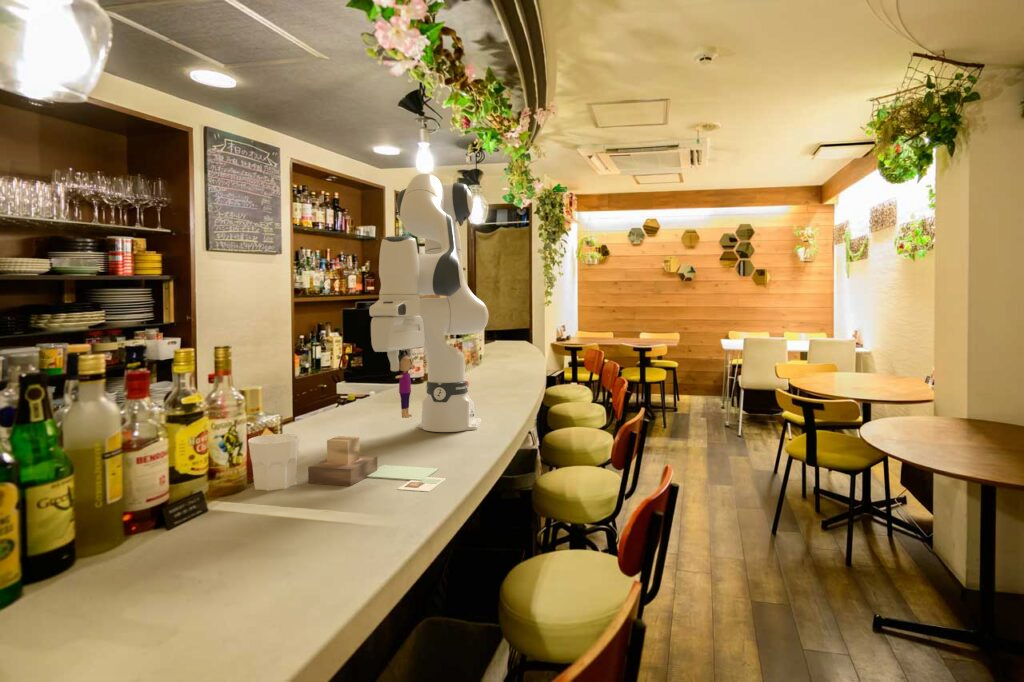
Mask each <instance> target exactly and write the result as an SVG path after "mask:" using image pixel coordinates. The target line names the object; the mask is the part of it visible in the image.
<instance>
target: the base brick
mask: <svg viewBox="0 0 1024 682" xmlns="http://www.w3.org/2000/svg"><path fill="white" fill-rule="evenodd" d="M359 458H360V459H359V460H357V461H354V462H352V463H350V464H333V463H327V458H325V459H323V460H321V461H319V462H317V463H313V464H311V465H309V466H308V467H307V470H308V471H307V474H308V481H307V482H308V484H317V485H332V486H345V487H347V486H348V487H352V486H353V485H356V484H358V483H359V482H361V481H363V480H365V479H366V478H368V477H367V476H368V475H370V474H372V473H374V472H375V471H377V468H378V456H376V455H375V456H374V455H359Z"/></svg>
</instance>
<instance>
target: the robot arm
mask: <svg viewBox="0 0 1024 682" xmlns="http://www.w3.org/2000/svg"><path fill="white" fill-rule="evenodd" d="M473 197H474V196H473V194H472V191H470V187H469V186H468V185H467V184H465V183H463V182H453V183H448V182H447V183H442V182H441V181H440V179H439V178H437V177H436V176H434V175H433V174H431V173H419V174H417V175H416V176H414V177H413V178H412V179H411V181H410V182H409V183H408V185H407V187H406V188H403V189H401V191H400V192H398V194H397V197H396V210H397V213H398V214H397V215H398V216H399V219H400V222H401V225H402V226H403V227H404V229H405V230H406V231H407V232H408V233H410V234H411V235H413V236H414V237H413V236H411V235H394V236H393V235H390V236H385V237H384V238H383V239H381V243H380V249H379V258H378V259H379V260H378V261H379V263H378V264H379V265H378V276H379V282H380V289H379V296H378V297H379V298H378V300H377V301H376V302H375V303H373V304H372V305H370V306H369V308H368V309H369V316H370V317H372V318H371V321H370V338H371V339H370V340H371V347H372V349H373V351H374V352H375V353H377V352H378V353H380V352H381V353H383V352H384V353H385V352H386V353H387V357H388V360H389V364H390V371H391V372H400V371H401V363H399V359H398V355H399V352H400V351H401V352H402V351H405V350H406V351H407V353H408V355H406V353H405V352H404V354H405V355H406V356H408V357H410V358H411V359H412V356H413V349H420V348H423V349H424V353H425V357H426V365H427V381H426V385H425V388H426V394H427V395H426V397H425V398H423V400H422V402H421V403H422V404H421V405H422V406H421V419H420V420H421V422H418V423H417V428H419V429H423V430H424V431H428V432H433V433H434V432H435V433H436V432H437V433H454V432H463V431H473V430H474V431H476V430H478V429H479V427H480V424H481V423H482V420H483V419H482V418H481V417H476V410H475V403H474V401H473V400H472V399H471V397H470V396H469V394H468V392H469V390H468V388H469V386H470V382H469V380H466V357H465V355H464V353H463V352H462V351H461V350H460V349H458V348H456V347H454V346H452V345H450V344H448V343H447V341H446V336H447V335H448V336H449V335H472V334H476V333H479V332H483V330H484V329H485V328H486V327H487V325H488V321H489V317H490V316H489V310H488V307H487V305H486V304H485V303H484V302H483V301H482V300H481V299H480V298H478V297H477V296H476V295H475V294H474V293H473V292H472V290H471V289H470V287H469V286H468V283H467V281H466V277H465V273H464V265H463V251H462V250H463V248H462V241H461V240H462V239H461V234H460V229H459V227H461V226H463V224H464V222H465V221H467V220H468V219H469V218H470V216H471V214H472V212H473V208H474V207H473V205H474V198H473ZM415 237H417V238H420V239H423V240H424V253H419V251H418V243H417V239H416V238H415ZM427 295H428V296H432V295H433V296H435V295H436V296H439V297H421V298H420V296H427ZM440 296H442V297H440ZM445 296H446V297H445Z"/></svg>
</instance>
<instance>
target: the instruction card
mask: <svg viewBox="0 0 1024 682" xmlns="http://www.w3.org/2000/svg"><path fill="white" fill-rule="evenodd" d="M446 480H447V478H446V477H445V478H444V477H442V478H441V477H432V476H429V477H427V478H425V479H423V480H420V481H419V480H408V482H406V483H404V484H402V485H401V486H399V487H398V488H397V490H398V491H399V490H400V491H401V490H402V491H413V492H414V491H416V492H428V493H429V492H431V491H432V490H433V489H435V488H436V487H438V486H439V485H440V484H441V483H443V482H444V481H446Z"/></svg>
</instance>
